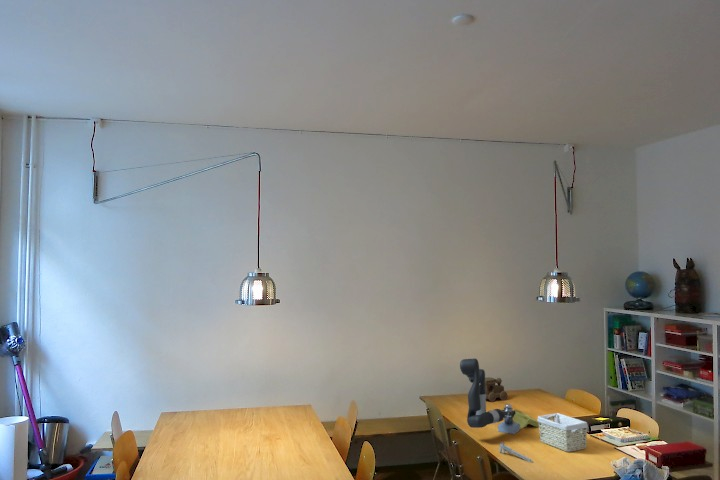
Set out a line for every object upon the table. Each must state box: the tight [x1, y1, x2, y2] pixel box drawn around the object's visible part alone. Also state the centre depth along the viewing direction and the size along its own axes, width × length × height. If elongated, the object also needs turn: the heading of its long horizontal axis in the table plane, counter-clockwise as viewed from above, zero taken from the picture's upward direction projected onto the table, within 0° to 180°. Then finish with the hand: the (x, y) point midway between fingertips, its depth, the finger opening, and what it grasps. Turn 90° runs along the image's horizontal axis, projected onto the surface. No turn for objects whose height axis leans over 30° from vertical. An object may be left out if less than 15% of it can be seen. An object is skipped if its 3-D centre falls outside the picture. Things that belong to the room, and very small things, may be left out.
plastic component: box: [513, 408, 539, 429], centre depth 345 cm, size 20×7×10 cm
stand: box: [497, 421, 521, 435], centre depth 331 cm, size 10×10×4 cm
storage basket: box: [536, 412, 588, 452], centre depth 301 cm, size 24×16×15 cm
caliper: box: [498, 441, 534, 463], centre depth 284 cm, size 20×1×6 cm, turn 39°
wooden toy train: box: [485, 376, 508, 403], centre depth 410 cm, size 20×11×17 cm, turn 112°
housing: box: [503, 403, 514, 424], centre depth 331 cm, size 5×5×11 cm
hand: (510, 411), depth 333 cm, fingers closed on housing, 5 cm apart
